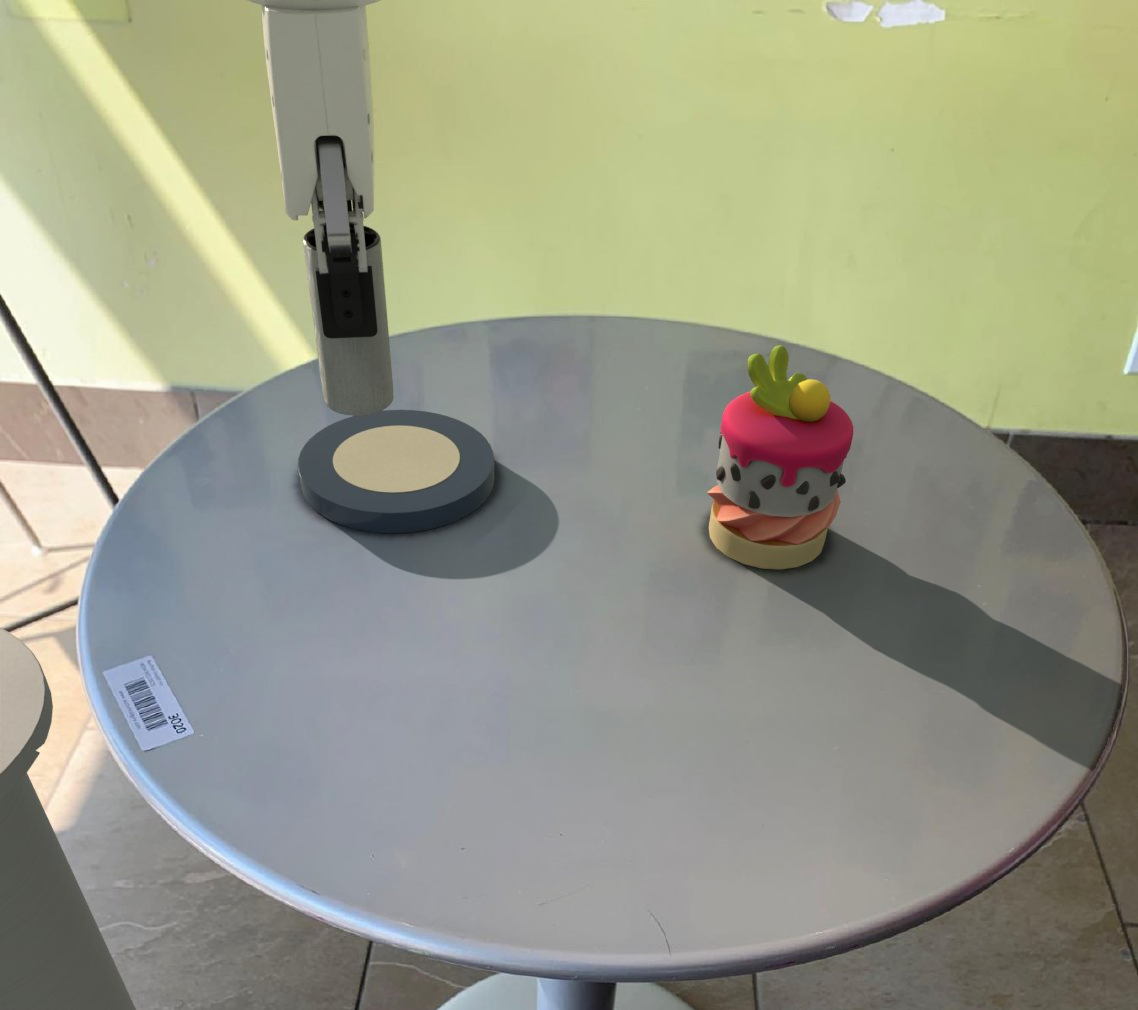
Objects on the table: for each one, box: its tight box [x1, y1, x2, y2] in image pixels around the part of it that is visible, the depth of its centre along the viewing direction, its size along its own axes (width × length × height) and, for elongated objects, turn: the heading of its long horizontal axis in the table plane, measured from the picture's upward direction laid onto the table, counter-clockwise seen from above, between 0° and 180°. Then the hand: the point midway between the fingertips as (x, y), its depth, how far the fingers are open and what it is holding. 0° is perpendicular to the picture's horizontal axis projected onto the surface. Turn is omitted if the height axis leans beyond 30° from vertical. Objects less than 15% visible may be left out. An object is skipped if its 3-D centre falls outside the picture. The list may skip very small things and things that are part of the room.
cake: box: [706, 344, 854, 570], centre depth 89 cm, size 10×11×15 cm
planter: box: [302, 224, 394, 417], centre depth 69 cm, size 4×4×10 cm
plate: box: [297, 409, 495, 534], centre depth 98 cm, size 17×17×2 cm
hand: (349, 312), depth 68 cm, fingers closed on planter, 4 cm apart
